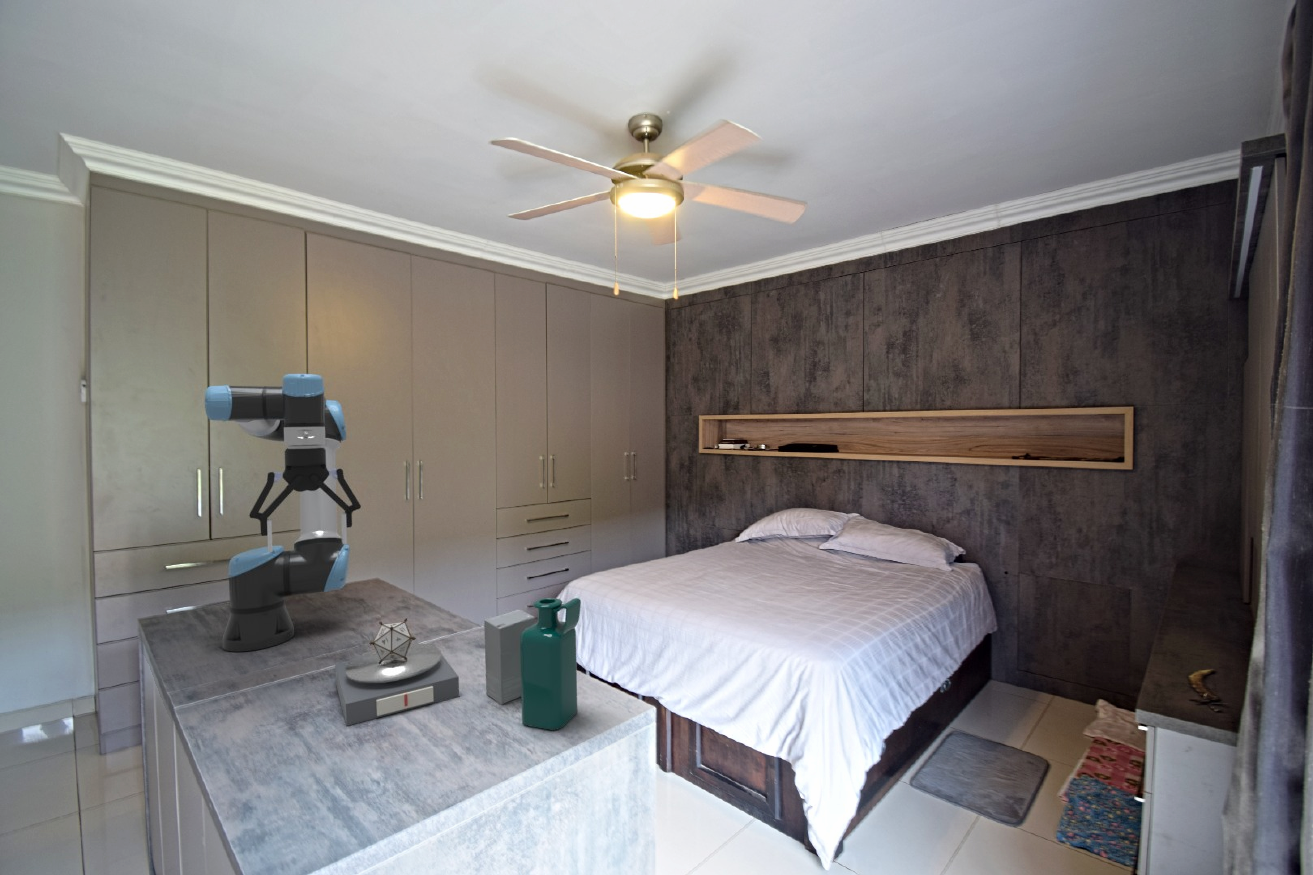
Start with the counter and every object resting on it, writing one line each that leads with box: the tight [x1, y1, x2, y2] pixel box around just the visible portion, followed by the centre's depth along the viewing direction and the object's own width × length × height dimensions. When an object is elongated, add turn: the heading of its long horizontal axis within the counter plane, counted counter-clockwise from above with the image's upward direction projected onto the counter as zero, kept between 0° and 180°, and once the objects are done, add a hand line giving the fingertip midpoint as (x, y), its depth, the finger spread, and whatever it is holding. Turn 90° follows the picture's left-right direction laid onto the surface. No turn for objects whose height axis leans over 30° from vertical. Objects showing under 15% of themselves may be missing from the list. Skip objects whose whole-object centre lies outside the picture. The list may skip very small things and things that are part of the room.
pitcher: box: [520, 597, 582, 731], centre depth 108 cm, size 10×8×22 cm
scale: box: [334, 642, 460, 727], centre depth 121 cm, size 23×20×4 cm
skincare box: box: [483, 608, 536, 705], centre depth 118 cm, size 8×7×16 cm
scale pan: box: [345, 642, 442, 683], centre depth 121 cm, size 18×18×2 cm
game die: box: [369, 617, 417, 664], centre depth 121 cm, size 9×8×10 cm
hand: (308, 546), depth 125 cm, fingers open, 13 cm apart
